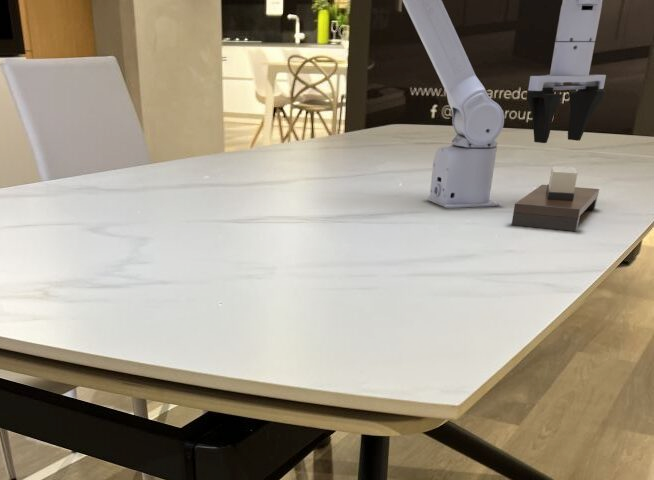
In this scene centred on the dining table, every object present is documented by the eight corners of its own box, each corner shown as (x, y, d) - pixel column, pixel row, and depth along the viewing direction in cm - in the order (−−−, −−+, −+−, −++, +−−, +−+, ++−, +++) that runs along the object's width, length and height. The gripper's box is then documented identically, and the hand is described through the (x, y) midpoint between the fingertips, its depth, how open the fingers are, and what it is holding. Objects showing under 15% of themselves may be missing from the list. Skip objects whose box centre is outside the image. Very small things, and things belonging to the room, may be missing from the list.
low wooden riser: (575, 231, 105) (579, 209, 103) (511, 225, 109) (514, 203, 107) (595, 208, 120) (599, 188, 119) (538, 203, 124) (541, 184, 122)
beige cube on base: (573, 200, 109) (578, 172, 107) (547, 199, 110) (552, 171, 108) (570, 192, 116) (575, 165, 114) (546, 191, 116) (551, 164, 115)
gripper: (587, 42, 118) (569, 136, 125) (520, 42, 112) (506, 141, 119) (624, 42, 113) (603, 140, 120) (556, 41, 107) (539, 145, 114)
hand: (557, 141), depth 119 cm, fingers open, 7 cm apart
